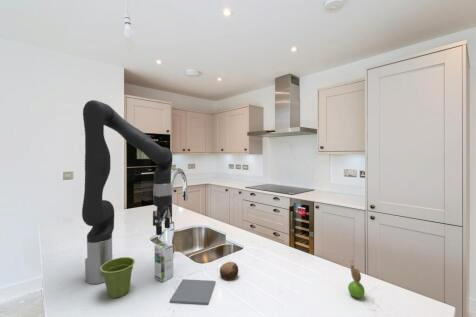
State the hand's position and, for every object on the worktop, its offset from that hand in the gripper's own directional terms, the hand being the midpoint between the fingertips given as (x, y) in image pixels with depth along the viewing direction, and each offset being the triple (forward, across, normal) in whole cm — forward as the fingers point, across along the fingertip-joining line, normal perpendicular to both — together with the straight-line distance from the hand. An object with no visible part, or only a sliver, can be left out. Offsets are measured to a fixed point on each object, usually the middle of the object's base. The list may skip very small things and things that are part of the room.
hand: (163, 231), depth 99 cm
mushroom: (+21, -3, +28) cm, 35 cm away
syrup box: (+20, 0, 0) cm, 20 cm away
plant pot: (+20, +12, -13) cm, 27 cm away
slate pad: (+20, +9, +16) cm, 27 cm away
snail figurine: (+21, +6, +77) cm, 80 cm away
